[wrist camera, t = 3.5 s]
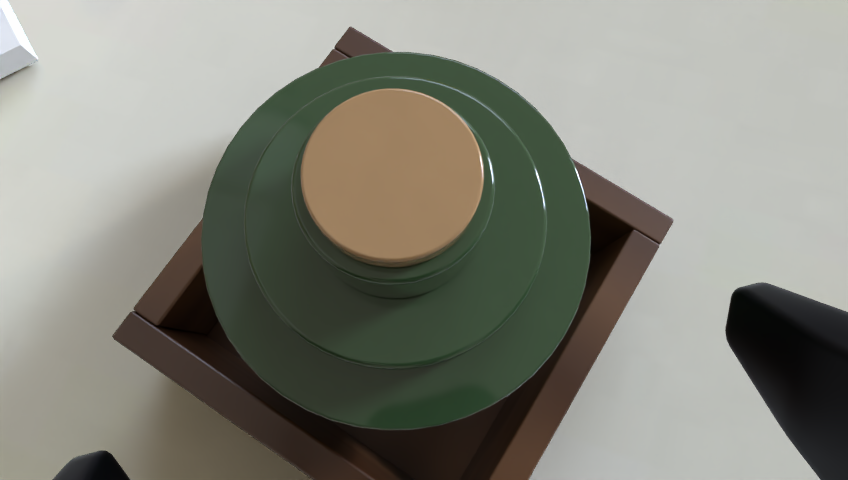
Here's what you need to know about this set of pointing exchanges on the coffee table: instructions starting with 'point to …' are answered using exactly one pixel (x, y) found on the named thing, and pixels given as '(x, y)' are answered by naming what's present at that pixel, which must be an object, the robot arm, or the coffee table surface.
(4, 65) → the photo frame
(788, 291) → the robot arm
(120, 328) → the crate
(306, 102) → the bottle
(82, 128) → the coffee table surface
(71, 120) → the coffee table surface
